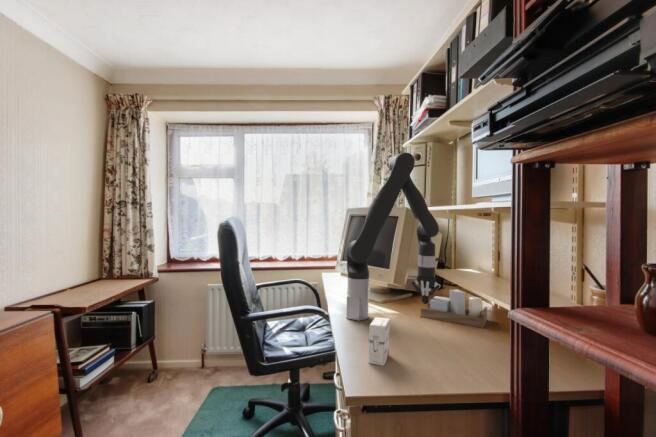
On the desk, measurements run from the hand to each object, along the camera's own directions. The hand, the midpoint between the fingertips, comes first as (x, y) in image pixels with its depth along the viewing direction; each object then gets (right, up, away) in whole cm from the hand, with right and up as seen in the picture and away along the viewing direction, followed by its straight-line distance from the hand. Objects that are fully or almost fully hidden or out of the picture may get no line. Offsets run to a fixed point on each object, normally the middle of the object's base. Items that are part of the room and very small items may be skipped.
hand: (425, 303), depth 148 cm
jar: (+18, -5, -11) cm, 21 cm away
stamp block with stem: (+4, -4, -2) cm, 6 cm away
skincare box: (+11, -5, -7) cm, 14 cm away
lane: (+10, -5, -6) cm, 13 cm away
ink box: (-28, -5, -46) cm, 54 cm away
